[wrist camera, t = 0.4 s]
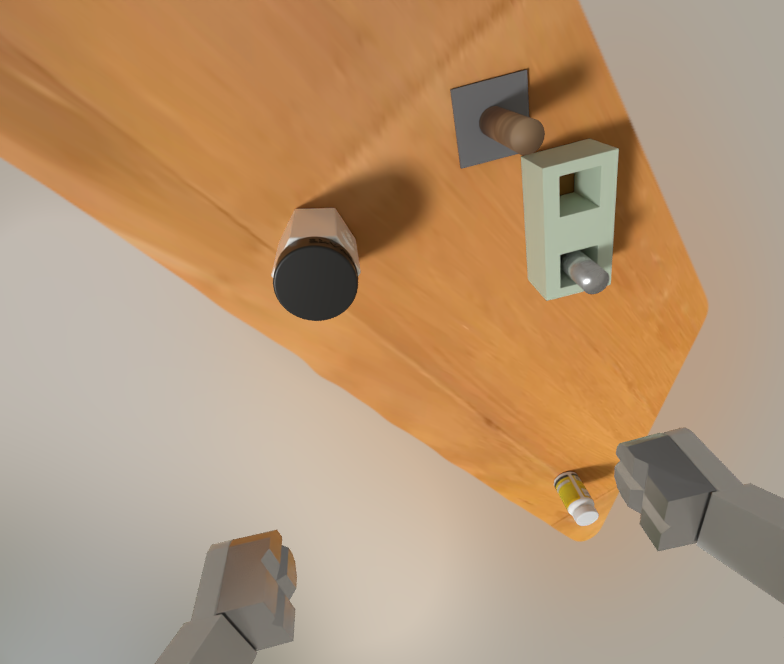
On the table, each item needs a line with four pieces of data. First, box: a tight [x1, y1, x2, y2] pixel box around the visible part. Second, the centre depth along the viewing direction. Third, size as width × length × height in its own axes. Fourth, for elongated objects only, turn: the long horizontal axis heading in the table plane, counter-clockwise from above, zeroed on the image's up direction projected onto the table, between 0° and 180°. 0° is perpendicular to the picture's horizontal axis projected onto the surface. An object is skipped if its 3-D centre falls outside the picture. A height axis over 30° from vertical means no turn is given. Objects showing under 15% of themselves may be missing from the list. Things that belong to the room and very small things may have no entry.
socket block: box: [521, 139, 619, 301], centre depth 53 cm, size 16×8×6 cm, turn 13°
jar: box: [271, 208, 361, 321], centre depth 48 cm, size 9×8×12 cm
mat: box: [450, 70, 529, 169], centre depth 48 cm, size 8×8×1 cm
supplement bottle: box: [554, 472, 599, 526], centre depth 80 cm, size 5×5×8 cm
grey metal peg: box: [560, 250, 609, 294], centre depth 53 cm, size 3×3×10 cm
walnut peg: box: [479, 106, 545, 155], centre depth 44 cm, size 3×3×10 cm
